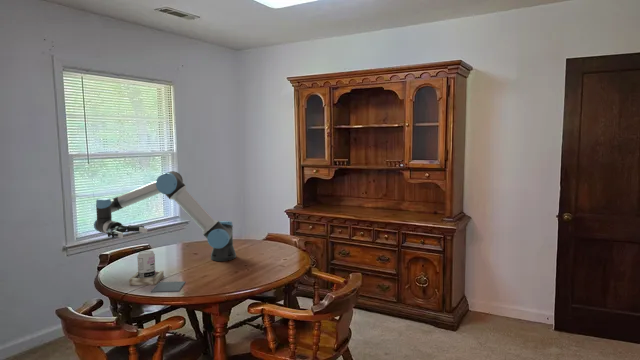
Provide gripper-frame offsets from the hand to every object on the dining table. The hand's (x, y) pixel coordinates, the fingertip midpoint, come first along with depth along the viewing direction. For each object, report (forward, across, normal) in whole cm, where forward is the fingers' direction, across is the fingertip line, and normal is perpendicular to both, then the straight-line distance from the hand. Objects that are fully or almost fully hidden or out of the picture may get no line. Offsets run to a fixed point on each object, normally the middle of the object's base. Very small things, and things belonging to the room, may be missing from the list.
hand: (134, 233), depth 222 cm
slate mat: (+28, -1, -24) cm, 36 cm away
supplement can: (+10, 0, -24) cm, 26 cm away
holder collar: (+10, 0, -24) cm, 26 cm away
